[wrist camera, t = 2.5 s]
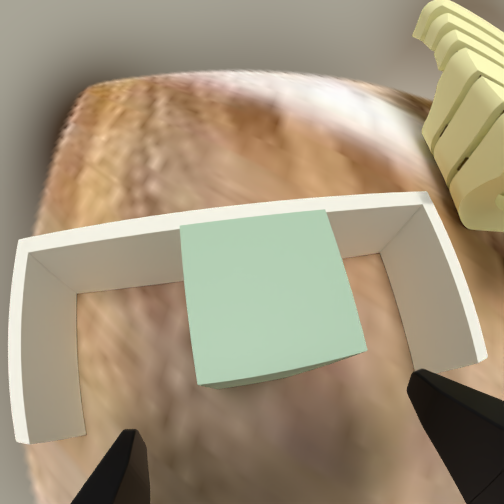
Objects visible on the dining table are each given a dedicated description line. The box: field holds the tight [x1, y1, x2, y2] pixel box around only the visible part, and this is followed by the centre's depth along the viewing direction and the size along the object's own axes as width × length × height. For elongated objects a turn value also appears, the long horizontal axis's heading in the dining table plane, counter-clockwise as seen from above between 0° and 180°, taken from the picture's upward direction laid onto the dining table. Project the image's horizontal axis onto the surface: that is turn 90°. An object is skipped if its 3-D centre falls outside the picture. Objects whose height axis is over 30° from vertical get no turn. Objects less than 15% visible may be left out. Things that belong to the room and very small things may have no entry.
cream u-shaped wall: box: [8, 191, 488, 444], centre depth 16 cm, size 12×26×7 cm, turn 100°
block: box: [180, 209, 367, 389], centre depth 14 cm, size 4×4×12 cm
